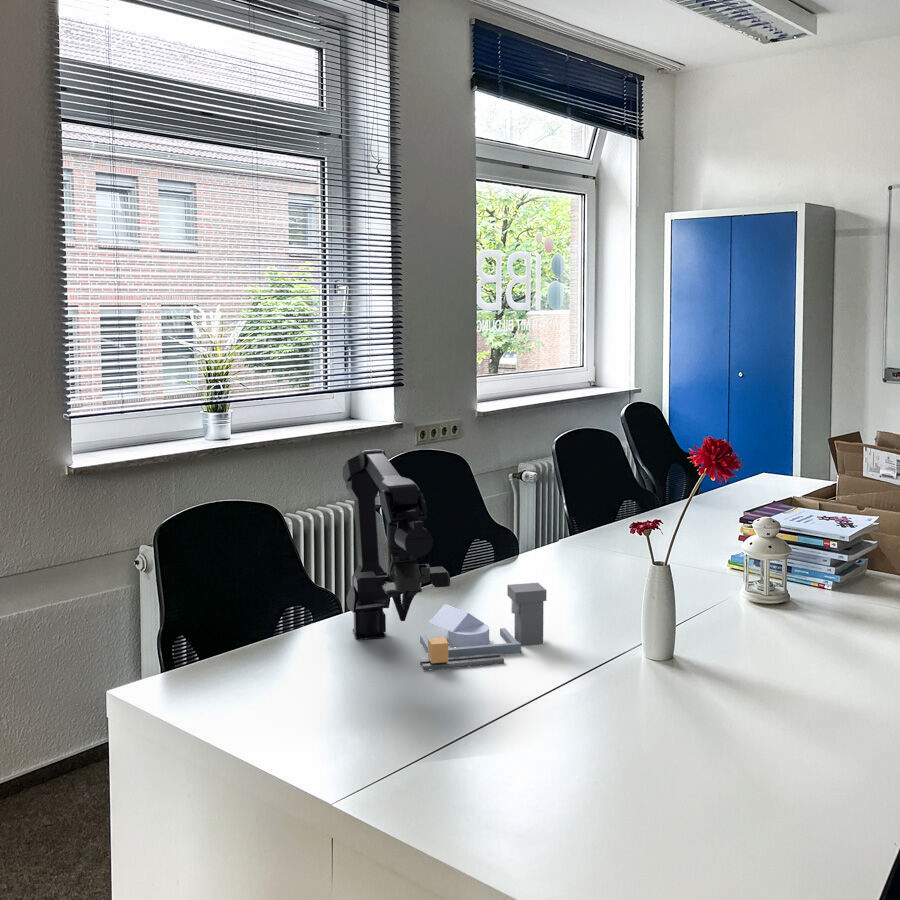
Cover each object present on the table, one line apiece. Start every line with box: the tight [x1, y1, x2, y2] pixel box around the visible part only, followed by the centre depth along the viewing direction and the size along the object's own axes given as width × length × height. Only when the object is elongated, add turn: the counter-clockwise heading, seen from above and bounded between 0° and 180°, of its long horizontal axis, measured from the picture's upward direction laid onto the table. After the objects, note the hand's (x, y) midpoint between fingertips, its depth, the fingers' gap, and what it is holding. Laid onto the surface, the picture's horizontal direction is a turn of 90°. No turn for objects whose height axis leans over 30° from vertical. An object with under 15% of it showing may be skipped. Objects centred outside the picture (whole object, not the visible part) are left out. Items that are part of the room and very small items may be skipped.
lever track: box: [419, 653, 505, 671], centre depth 205 cm, size 17×4×1 cm, turn 103°
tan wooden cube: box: [427, 637, 449, 663], centre depth 203 cm, size 4×4×5 cm
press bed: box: [419, 582, 547, 657], centre depth 215 cm, size 26×12×12 cm, turn 103°
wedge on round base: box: [428, 603, 490, 648], centre depth 219 cm, size 9×7×13 cm
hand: (402, 620), depth 201 cm, fingers closed
